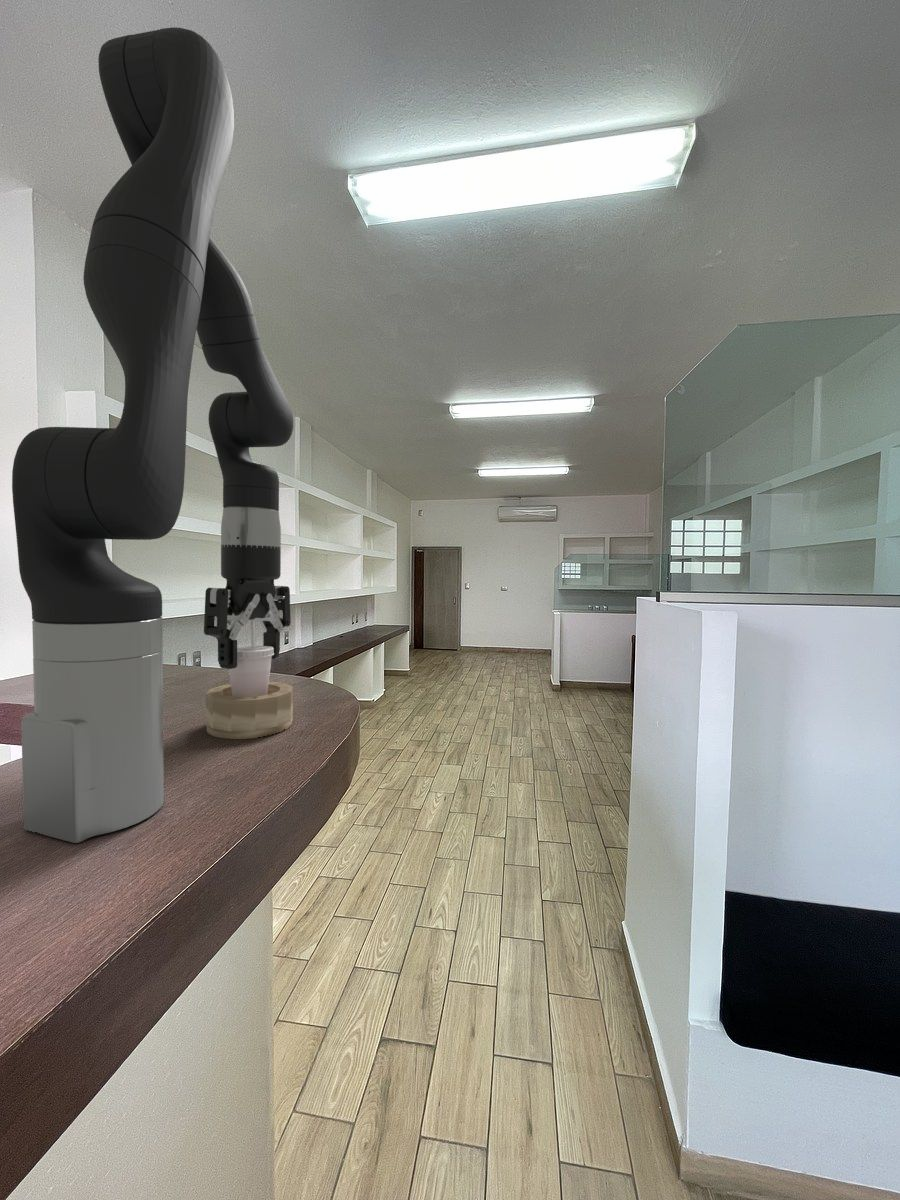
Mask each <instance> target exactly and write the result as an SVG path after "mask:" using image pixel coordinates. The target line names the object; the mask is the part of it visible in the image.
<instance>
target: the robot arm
mask: <svg viewBox="0 0 900 1200" xmlns="http://www.w3.org/2000/svg"><path fill="white" fill-rule="evenodd" d="M99 49H100V50H99V53H98V61H97V62H98V74H99V79H100V84H101V87H102V91H103V95H104V99H105V101H106V104H107V108H108V110H109V113H110V116H111V118H112V121H113V124H114V125H115V129H116V132H117V134H118V137H119V139H120V141H121V143H122V145H123V148H124V150H125V153H126V155H127V158H128V159H129V162H130V164H131V166H130V167H129V168H128V170H127V171H126V172H124V173H123V175H122V176H120V178H119V179H118V180H117V182H115V184H114V185H113V186H112V187H111V189H110V190H109V191H108V193H107V194H106V196H105V197H104V198H103V200H102V201H101V203H100V205H99V207H98V208H97V211H96V213H95V216H94V219H93V222H92V226H91V229H90V235H89V236H90V237H89V239H88V245H87V252H86V256H85V260H84V266H83V267H84V269H83V278H82V280H83V285H84V286H83V287H84V292H85V296H86V299H87V302H88V305H89V307H90V309H91V311H92V314H93V315H94V318H95V319H96V321H97V322H98V325H99V327H100V329H101V330H102V332H103V334H104V336H105V337H106V339H107V341H108V342H109V344H110V346H111V347H112V349H113V352H114V353H115V355H116V357H117V359H118V361H119V363H120V366H121V368H122V370H123V375H124V401H123V408H122V412H121V417H120V420H119V423H118V425H117V426H116V427H115V428H114V427H113V428H112V427H111V428H109V427H82V426H81V427H80V426H79V427H77V426H76V427H75V426H47V427H39V428H36V429H33V430H32V431H30V432H29V433H27V434H26V435H25V436H24V438H22V440H21V442H20V443H19V445H18V446H17V450H16V452H15V454H14V459H13V466H12V471H11V473H12V477H11V483H12V484H11V491H12V493H11V494H12V504H13V506H12V507H13V515H14V517H13V518H14V525H15V535H16V545H17V546H16V548H17V557H18V560H17V561H18V570H19V576H20V580H21V583H22V586H23V588H24V590H25V592H26V594H27V596H28V598H29V602H30V605H31V606H30V607H31V619H32V623H31V624H32V625H31V626H32V657H33V658H32V668H33V669H32V671H33V674H32V675H33V707H34V708H33V712H30V713H27V714H25V715H23V716H22V717H21V723H20V729H21V764H22V766H21V767H22V769H21V770H22V799H23V801H22V802H23V803H22V804H23V805H22V806H23V830H24V829H26V830H25V831H27V830H29V832H31V831H32V833H35V832H38V833H37V834H39V833H40V835H42V834H43V836H47V837H50V838H55V839H59V840H62V841H66V842H70V843H73V844H78V843H81V842H83V841H86V840H88V839H89V838H91V837H95V836H100V835H105V834H109V833H113V832H116V831H120V830H122V829H126V828H128V827H130V826H133V825H137V824H139V823H140V822H142V821H144V820H146V819H148V818H150V817H152V816H153V815H154V814H155V813H157V812H158V811H159V810H160V809H161V808H162V806H163V804H164V802H165V801H164V791H165V790H164V789H165V787H164V785H165V783H164V779H165V778H164V777H165V776H164V681H163V680H164V677H163V676H164V675H163V674H164V670H163V668H164V667H163V664H164V663H163V661H164V660H163V658H164V657H163V649H164V648H163V641H164V639H163V596H162V595H163V594H162V592H161V589H160V588H159V587H158V586H157V585H155V584H154V583H153V582H149V581H147V580H144V579H141V578H139V577H136V576H134V575H131V574H130V573H128V572H126V571H125V570H123V569H122V568H120V567H118V566H117V565H116V564H115V563H114V562H113V560H111V558H110V557H109V554H108V550H107V545H106V540H122V541H123V540H124V541H125V540H131V541H133V540H134V541H137V540H138V541H139V540H140V541H141V540H143V541H146V540H147V541H148V540H149V541H150V540H157V539H160V538H163V537H164V536H167V535H168V534H169V533H170V532H171V531H172V529H173V528H174V527H175V525H176V523H177V520H178V518H179V515H180V511H181V507H182V505H183V503H182V502H183V498H184V489H185V475H186V474H185V473H186V451H187V450H186V449H187V448H186V447H187V423H188V421H187V419H188V418H187V417H188V399H189V398H188V396H189V387H190V379H191V369H192V362H193V361H192V360H193V354H194V353H193V352H194V346H195V340H196V334H197V337H198V340H199V344H200V345H201V350H202V353H203V356H204V358H205V362H206V363H207V365H208V367H209V368H210V369H211V370H212V371H214V372H218V373H221V374H226V375H231V376H234V377H235V378H237V379H238V381H239V382H240V384H241V385H242V387H243V388H244V390H245V391H239V392H238V391H234V392H232V391H231V392H224V393H221V394H218V395H217V396H216V397H215V398H214V399H213V401H212V402H211V405H210V407H209V411H208V428H209V431H210V435H211V439H212V441H213V446H214V448H215V452H216V456H217V460H218V463H219V468H220V471H221V475H222V481H223V482H222V516H221V522H220V523H221V524H220V575H221V577H222V578H223V579H225V580H226V585H225V587H207V588H206V590H205V595H204V596H205V597H204V598H205V599H204V616H203V618H204V621H203V625H204V626H203V634H204V635H205V636H210V637H214V638H216V640H217V661H218V662H217V663H218V666H219V667H220V668H221V669H227V670H228V669H233V668H236V667H237V647H238V639H237V637H238V635H239V632H240V631H241V629H242V627H244V626H246V625H247V623H248V621H249V620H250V621H251V620H252V619H255V620H256V621H259V623H260V625H261V626H262V628H263V630H264V632H262V635H263V636H262V637H263V638H262V639H263V641H262V643H263V644H262V646H271V647H273V648H274V655H273V656H272V658H271V660H276V659H278V658H279V657H280V650H281V647H280V646H281V633H282V632H283V630H284V628H285V627H289V626H290V625H291V593H290V591H291V589H290V587H289V586H286V585H275V580H278V579H280V578H281V572H282V571H281V565H282V563H281V562H282V561H281V557H282V555H281V554H282V552H281V551H282V550H281V548H282V545H281V544H282V543H281V542H282V541H281V540H282V533H281V532H282V529H281V526H282V525H281V521H280V512H279V511H280V479H279V478H280V477H279V474H278V472H277V470H275V469H274V468H272V467H270V466H268V465H265V464H260V463H257V462H254V461H253V460H252V456H251V454H250V448H273V447H274V448H275V447H281V446H283V445H286V444H287V443H288V441H289V440H290V438H291V437H292V434H293V430H294V416H293V412H292V411H293V410H292V408H291V405H290V403H289V400H288V398H287V397H286V395H285V392H284V390H283V388H282V387H281V385H280V383H279V381H278V379H277V377H276V375H275V372H274V371H273V369H272V367H271V364H270V362H269V361H268V358H267V357H266V353H265V351H264V348H263V346H262V345H263V344H262V341H261V339H260V337H261V336H260V333H259V328H258V324H257V321H256V320H257V319H256V316H255V311H254V308H253V303H252V301H251V297H250V295H249V292H248V290H247V288H246V285H245V283H244V281H243V279H242V277H241V276H240V274H239V273H238V271H237V269H236V268H235V267H234V265H233V264H232V263H231V261H230V260H229V258H228V257H227V256H226V254H225V253H224V252H223V250H221V249H220V247H219V246H218V245H217V244H216V242H215V241H214V239H213V238H212V237H211V231H212V225H213V220H214V214H215V208H216V204H217V199H218V196H219V194H220V193H219V192H220V189H221V186H222V182H223V178H224V175H225V172H226V169H227V165H228V162H229V158H230V154H231V151H232V146H233V140H234V132H235V111H234V101H233V99H234V98H233V96H232V90H231V89H232V88H231V86H230V83H229V79H228V75H227V72H226V70H225V68H224V65H223V63H222V61H221V58H220V57H219V55H218V53H217V52H216V50H215V49H214V48H213V47H212V45H211V44H210V43H209V42H208V41H207V40H206V39H205V38H204V37H203V36H202V35H200V34H199V33H197V32H195V31H194V30H191V29H187V28H182V27H176V26H175V27H173V26H172V27H165V28H160V29H155V30H150V31H144V32H139V33H135V34H127V35H124V36H123V35H122V36H118V37H115V38H111V39H109V40H107V41H106V42H104V43H103V44H102V45H101V47H100V48H99ZM280 611H282V617H281V613H280ZM215 617H216V625H215Z"/></svg>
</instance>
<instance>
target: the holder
mask: <svg viewBox="0 0 900 1200" xmlns="http://www.w3.org/2000/svg"><path fill="white" fill-rule="evenodd" d="M293 697H294V687H293V685H290V684H287V683H284V682H280V681H279V682H277V681H270V680H269V685H268V694H267V695H263V696H256V697H233V696H232V689H231V683H227V684H223V685H220V686H216V687H212V688H210V689H209V690H207V692H206V693H205V724H206V733H207V734H208V735H210V736H212V737H215V738H219V739H225V740H249V739H251V740H252V739H259V738H258V737H260V738H264V737H263V736H266V737H268V736H267V735H270V736H272V735H271V734H274V733H277V732H280V731H282V730H284V729H286V728H288V727H289V726H290V725H291V724H292V725H293V723H292V721H293V719H294V718H293V717H294V716H293V715H294V713H293V711H294V706H293V705H294V703H293V702H294V701H293V700H294V698H293ZM274 735H275V734H274Z"/></svg>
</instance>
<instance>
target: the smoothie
mask: <svg viewBox="0 0 900 1200" xmlns="http://www.w3.org/2000/svg"><path fill="white" fill-rule="evenodd" d="M256 640H257V639H256V618H255V619H252V620H250V641H251V642H250V645H243V646H241V645H240V646H237V667H236V668H233V669H227V670H228V674H229V675H228V676H229V681H230V684H231V689H232V696H233V697H256V696H263V695H267V694H268V685H269V681H270V674H271V665H272V659H271V658H272V656H273V655H274V648H273V647H271V646H263V645H256V643H257V641H256Z"/></svg>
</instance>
